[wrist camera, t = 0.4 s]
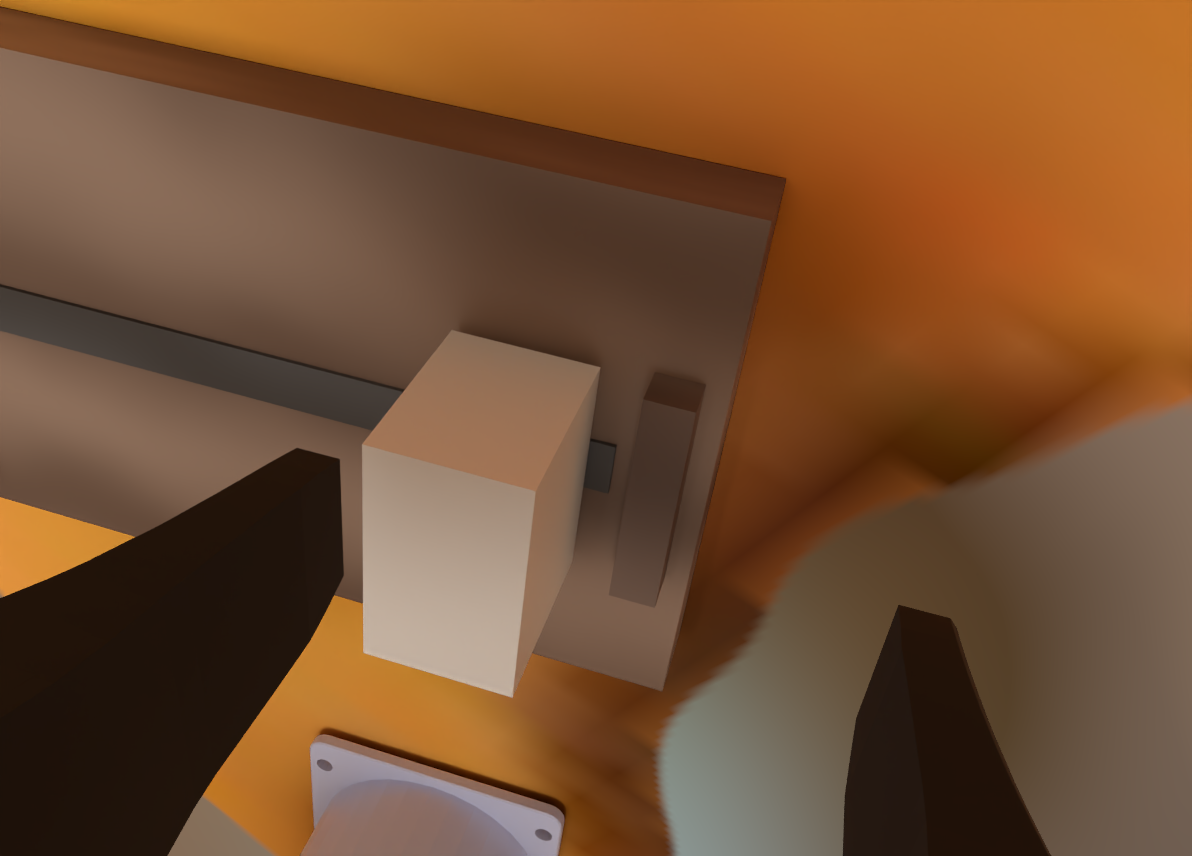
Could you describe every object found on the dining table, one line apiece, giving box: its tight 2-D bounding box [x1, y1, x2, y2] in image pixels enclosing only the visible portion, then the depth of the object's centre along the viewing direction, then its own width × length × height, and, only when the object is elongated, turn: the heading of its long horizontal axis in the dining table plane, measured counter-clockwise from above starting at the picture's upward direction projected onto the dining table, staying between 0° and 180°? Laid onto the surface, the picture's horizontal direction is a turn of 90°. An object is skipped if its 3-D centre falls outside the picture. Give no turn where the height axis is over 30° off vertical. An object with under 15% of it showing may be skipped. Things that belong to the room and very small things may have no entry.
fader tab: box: [362, 330, 601, 697], centre depth 21 cm, size 5×3×4 cm, turn 173°
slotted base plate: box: [0, 7, 786, 691], centre depth 24 cm, size 12×24×3 cm, turn 83°
